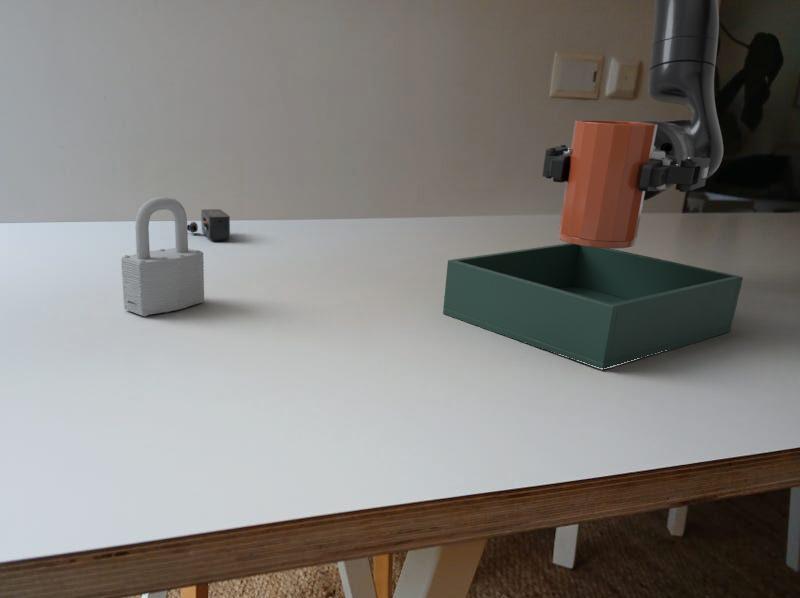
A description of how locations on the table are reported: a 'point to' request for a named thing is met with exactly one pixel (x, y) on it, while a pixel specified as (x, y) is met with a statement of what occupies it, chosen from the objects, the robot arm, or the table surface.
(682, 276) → the tub
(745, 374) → the table surface
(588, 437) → the table surface
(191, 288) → the padlock
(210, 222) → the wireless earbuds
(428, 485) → the table surface
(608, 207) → the tumbler
